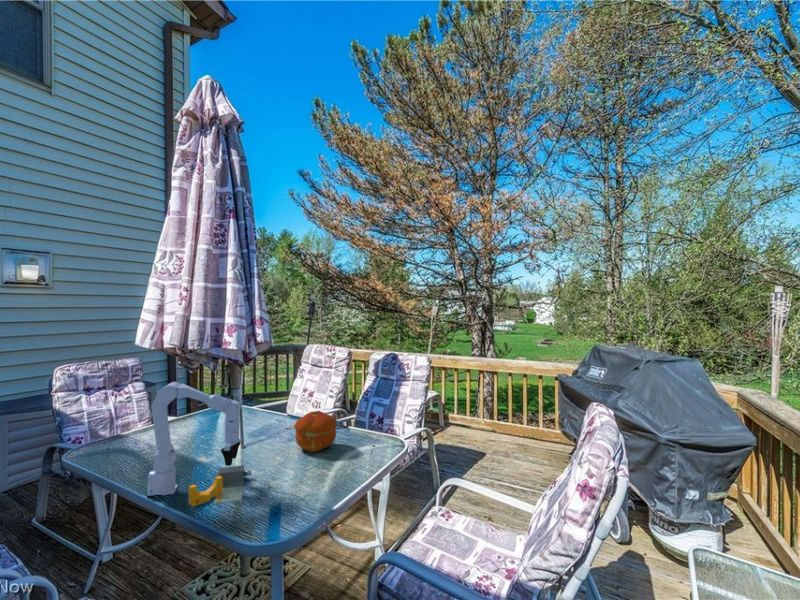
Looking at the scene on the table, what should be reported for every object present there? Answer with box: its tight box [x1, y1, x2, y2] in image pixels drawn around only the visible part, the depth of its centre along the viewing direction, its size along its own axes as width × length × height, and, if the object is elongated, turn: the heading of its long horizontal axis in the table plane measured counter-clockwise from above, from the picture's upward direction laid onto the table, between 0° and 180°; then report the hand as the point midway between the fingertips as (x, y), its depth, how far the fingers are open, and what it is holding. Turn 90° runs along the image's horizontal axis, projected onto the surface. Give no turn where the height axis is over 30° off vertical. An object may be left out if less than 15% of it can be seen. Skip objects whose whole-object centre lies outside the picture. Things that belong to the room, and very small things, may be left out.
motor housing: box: [213, 465, 252, 505], centre depth 160 cm, size 13×22×5 cm, turn 20°
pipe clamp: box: [188, 475, 223, 507], centre depth 151 cm, size 12×4×6 cm, turn 141°
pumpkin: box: [294, 410, 338, 453], centre depth 207 cm, size 23×23×20 cm
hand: (231, 461), depth 164 cm, fingers open, 7 cm apart
